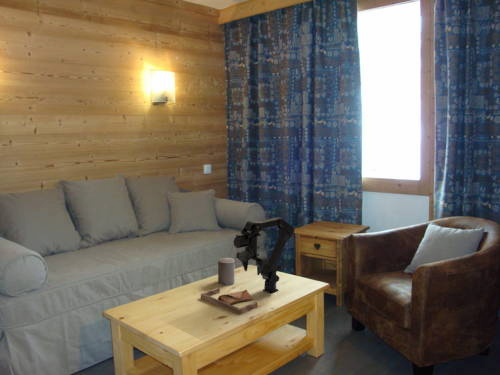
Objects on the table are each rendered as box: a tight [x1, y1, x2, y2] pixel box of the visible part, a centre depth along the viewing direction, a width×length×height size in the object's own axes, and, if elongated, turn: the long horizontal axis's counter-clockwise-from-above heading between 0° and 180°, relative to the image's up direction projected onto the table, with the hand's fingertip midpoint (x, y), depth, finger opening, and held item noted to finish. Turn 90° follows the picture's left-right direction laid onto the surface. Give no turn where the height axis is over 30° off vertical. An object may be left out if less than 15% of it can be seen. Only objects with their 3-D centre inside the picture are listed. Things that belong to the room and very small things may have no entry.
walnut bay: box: [200, 287, 258, 315], centre depth 238 cm, size 13×29×2 cm, turn 47°
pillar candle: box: [217, 257, 236, 286], centre depth 266 cm, size 10×10×15 cm
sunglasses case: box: [217, 289, 255, 306], centre depth 241 cm, size 18×7×7 cm, turn 123°
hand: (252, 273), depth 245 cm, fingers open, 9 cm apart
